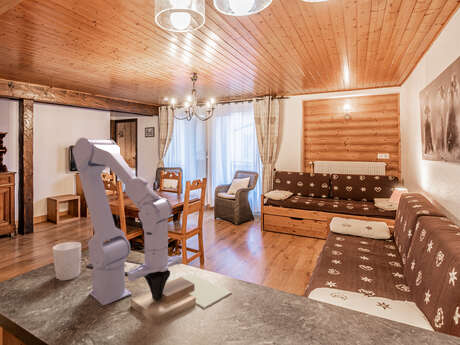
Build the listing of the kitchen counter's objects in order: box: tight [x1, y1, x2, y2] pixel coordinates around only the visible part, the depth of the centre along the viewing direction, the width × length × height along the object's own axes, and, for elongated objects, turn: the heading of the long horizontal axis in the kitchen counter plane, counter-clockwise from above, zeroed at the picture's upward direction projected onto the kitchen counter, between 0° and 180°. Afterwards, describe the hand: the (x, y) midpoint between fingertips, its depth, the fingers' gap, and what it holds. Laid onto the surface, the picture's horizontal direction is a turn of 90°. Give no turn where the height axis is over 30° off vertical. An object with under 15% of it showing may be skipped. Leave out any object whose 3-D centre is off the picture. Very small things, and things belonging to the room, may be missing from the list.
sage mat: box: [181, 272, 232, 309], centre depth 81 cm, size 18×11×1 cm, turn 48°
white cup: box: [52, 241, 82, 281], centre depth 89 cm, size 8×8×10 cm
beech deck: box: [130, 290, 197, 326], centre depth 73 cm, size 12×12×2 cm
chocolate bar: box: [85, 259, 144, 277], centre depth 97 cm, size 9×1×18 cm
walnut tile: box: [160, 276, 194, 304], centre depth 75 cm, size 6×9×2 cm, turn 138°
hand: (156, 298), depth 71 cm, fingers closed
